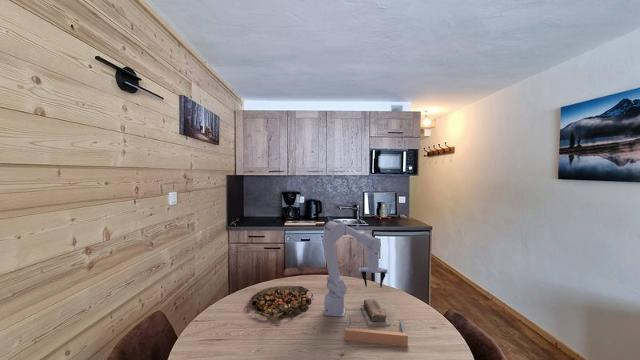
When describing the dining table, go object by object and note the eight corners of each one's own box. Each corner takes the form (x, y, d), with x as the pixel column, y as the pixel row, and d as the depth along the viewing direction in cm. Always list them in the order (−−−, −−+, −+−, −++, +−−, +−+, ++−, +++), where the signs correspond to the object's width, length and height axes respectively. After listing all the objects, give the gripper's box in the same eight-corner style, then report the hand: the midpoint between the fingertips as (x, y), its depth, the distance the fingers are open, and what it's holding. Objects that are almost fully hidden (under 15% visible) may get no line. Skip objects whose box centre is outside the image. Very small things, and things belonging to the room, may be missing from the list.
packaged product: (359, 298, 137) (379, 298, 138) (359, 308, 137) (379, 307, 138) (368, 316, 119) (390, 315, 120) (368, 327, 119) (390, 326, 120)
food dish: (298, 329, 120) (298, 311, 119) (235, 318, 130) (234, 302, 130) (322, 294, 153) (322, 280, 153) (270, 288, 163) (270, 275, 163)
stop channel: (344, 340, 109) (344, 330, 109) (347, 319, 125) (347, 311, 125) (407, 346, 105) (407, 335, 105) (402, 324, 121) (402, 315, 121)
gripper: (386, 258, 145) (387, 284, 145) (359, 257, 147) (359, 282, 148) (387, 262, 138) (388, 289, 138) (358, 261, 140) (359, 287, 141)
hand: (373, 286), depth 142 cm, fingers open, 7 cm apart
